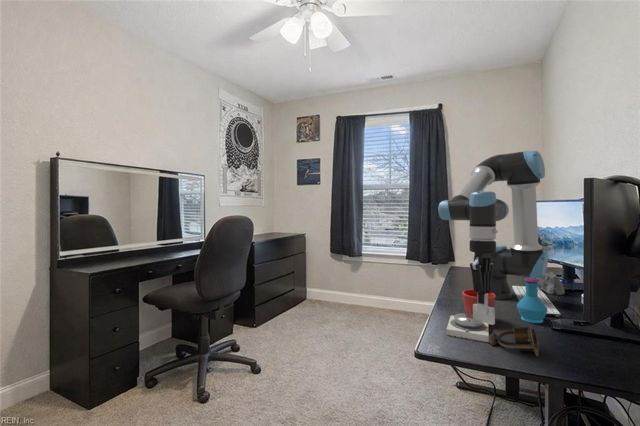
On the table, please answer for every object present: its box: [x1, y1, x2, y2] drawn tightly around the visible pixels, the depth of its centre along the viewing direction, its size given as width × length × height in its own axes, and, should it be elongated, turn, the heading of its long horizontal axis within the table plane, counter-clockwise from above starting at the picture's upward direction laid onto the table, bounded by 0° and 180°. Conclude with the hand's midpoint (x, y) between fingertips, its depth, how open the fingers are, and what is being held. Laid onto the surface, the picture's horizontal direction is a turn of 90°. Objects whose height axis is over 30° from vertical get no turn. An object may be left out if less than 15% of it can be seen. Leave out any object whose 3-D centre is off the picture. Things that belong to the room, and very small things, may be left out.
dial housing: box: [446, 315, 490, 343], centre depth 102 cm, size 14×12×2 cm
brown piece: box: [488, 326, 539, 357], centre depth 89 cm, size 7×13×10 cm
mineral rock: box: [537, 271, 566, 296], centre depth 145 cm, size 13×11×10 cm
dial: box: [453, 304, 496, 328], centre depth 100 cm, size 12×8×7 cm
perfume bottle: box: [516, 277, 548, 324], centre depth 110 cm, size 9×9×15 cm
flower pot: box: [461, 289, 496, 314], centre depth 111 cm, size 11×11×10 cm
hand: (482, 313), depth 96 cm, fingers closed
